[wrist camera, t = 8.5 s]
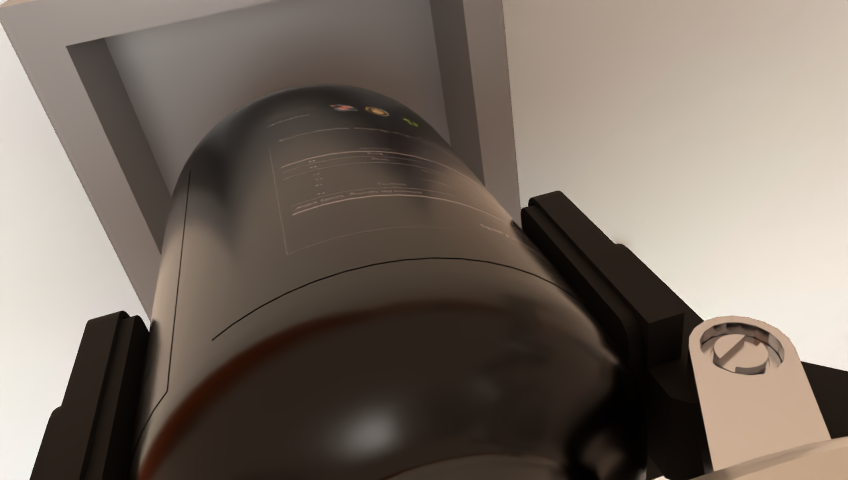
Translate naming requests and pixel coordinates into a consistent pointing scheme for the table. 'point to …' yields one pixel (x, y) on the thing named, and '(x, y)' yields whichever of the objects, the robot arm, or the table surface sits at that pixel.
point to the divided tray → (247, 87)
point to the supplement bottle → (366, 315)
